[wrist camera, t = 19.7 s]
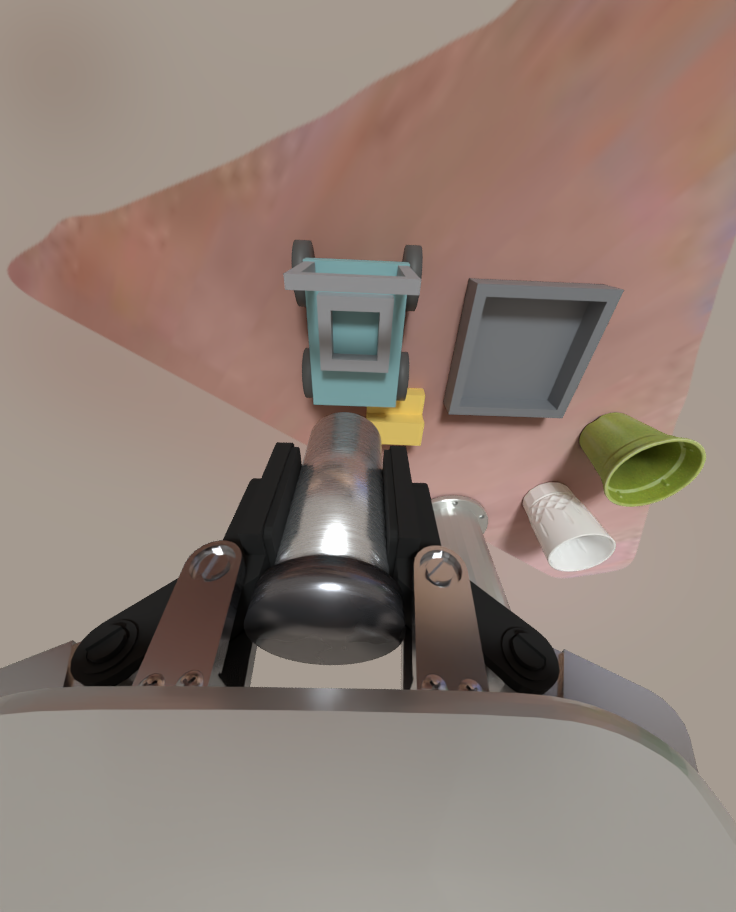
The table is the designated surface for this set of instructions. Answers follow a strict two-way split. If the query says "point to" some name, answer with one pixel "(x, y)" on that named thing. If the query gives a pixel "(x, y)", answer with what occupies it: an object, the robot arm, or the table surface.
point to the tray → (525, 346)
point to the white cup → (566, 528)
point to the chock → (400, 419)
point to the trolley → (355, 325)
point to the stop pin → (332, 557)
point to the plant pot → (639, 459)
